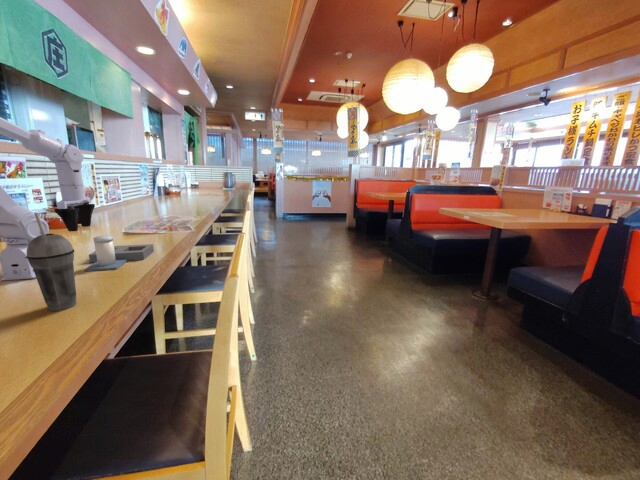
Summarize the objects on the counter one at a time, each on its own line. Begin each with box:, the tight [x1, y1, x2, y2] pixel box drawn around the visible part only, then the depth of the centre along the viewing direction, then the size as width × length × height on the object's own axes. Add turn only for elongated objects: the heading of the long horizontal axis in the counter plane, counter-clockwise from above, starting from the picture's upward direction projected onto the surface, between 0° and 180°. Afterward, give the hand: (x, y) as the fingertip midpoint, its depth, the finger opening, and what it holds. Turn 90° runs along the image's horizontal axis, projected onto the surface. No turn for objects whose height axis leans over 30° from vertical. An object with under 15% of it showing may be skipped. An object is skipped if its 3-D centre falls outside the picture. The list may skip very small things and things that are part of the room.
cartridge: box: [92, 235, 116, 266], centre depth 86 cm, size 5×5×8 cm
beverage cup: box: [26, 212, 77, 312], centre depth 60 cm, size 7×7×20 cm
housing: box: [88, 243, 155, 264], centre depth 96 cm, size 10×15×2 cm, turn 103°
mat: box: [84, 259, 129, 272], centre depth 87 cm, size 8×8×1 cm
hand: (80, 228), depth 94 cm, fingers open, 7 cm apart
